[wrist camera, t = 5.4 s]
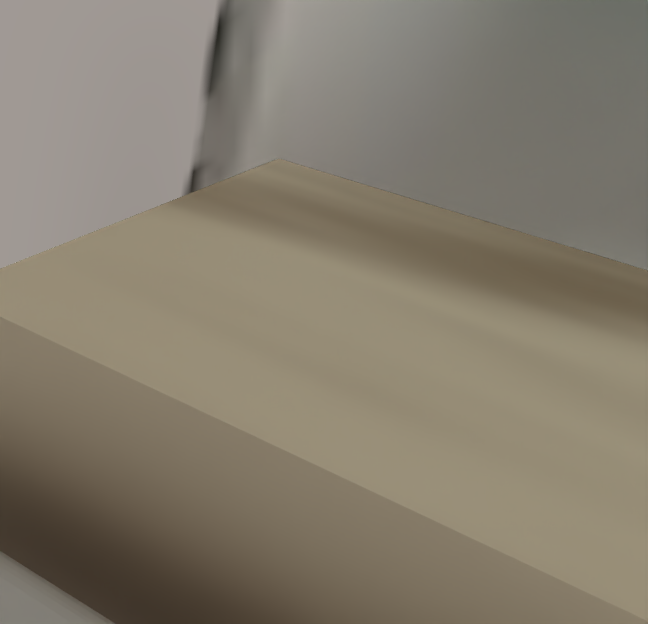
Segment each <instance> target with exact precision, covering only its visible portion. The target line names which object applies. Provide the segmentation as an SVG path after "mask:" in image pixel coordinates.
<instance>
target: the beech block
mask: <svg viewBox="0 0 648 624" xmlns="http://www.w3.org/2000/svg"><path fill="white" fill-rule="evenodd" d="M0 551H1V552H3V553H4V554H6V555H7V556H9V557H10V558H12V559H14V560H15V561H17V562H18V563H20V564H22V565H23V566H25V567H26V568H28V569H29V570H31V571H33V572H34V573H36V574H37V575H39V576H41V577H42V578H44V579H45V580H47V581H49V582H50V583H52V584H53V585H55V586H56V587H58V588H60V589H61V590H63V591H64V592H66V593H68V594H69V595H71V596H72V597H74V598H76V599H77V600H79V601H80V602H82V603H84V604H85V605H87V606H88V607H90V608H91V609H93V610H95V611H96V612H98V613H99V614H101V615H103V616H104V617H106V618H107V619H109V620H111V621H112V622H114V623H115V624H648V270H644V269H641V268H638V267H634V266H631V265H628V264H624V263H621V262H618V261H615V260H611V259H608V258H605V257H601V256H598V255H595V254H592V253H588V252H585V251H582V250H578V249H575V248H572V247H568V246H565V245H562V244H559V243H555V242H552V241H549V240H545V239H542V238H539V237H536V236H532V235H529V234H526V233H522V232H519V231H516V230H512V229H509V228H506V227H503V226H499V225H496V224H493V223H489V222H486V221H483V220H480V219H476V218H473V217H470V216H466V215H463V214H460V213H456V212H453V211H450V210H447V209H443V208H440V207H437V206H433V205H430V204H427V203H424V202H420V201H417V200H414V199H410V198H407V197H404V196H400V195H397V194H394V193H391V192H387V191H384V190H381V189H377V188H374V187H371V186H368V185H364V184H361V183H358V182H354V181H351V180H348V179H344V178H341V177H338V176H335V175H331V174H328V173H325V172H321V171H318V170H315V169H312V168H308V167H305V166H302V165H298V164H295V163H292V162H288V161H285V160H282V159H279V158H278V159H276V160H273V161H271V162H268V163H266V164H263V165H261V166H258V167H255V168H253V169H250V170H248V171H245V172H243V173H240V174H238V175H235V176H233V177H230V178H228V179H225V180H223V181H220V182H218V183H215V184H213V185H210V186H208V187H205V188H203V189H200V190H198V191H195V192H192V193H190V194H187V195H185V196H182V197H180V198H177V199H175V200H172V201H170V202H167V203H165V204H162V205H160V206H157V207H155V208H152V209H150V210H147V211H145V212H142V213H140V214H137V215H135V216H132V217H130V218H127V219H125V220H122V221H119V222H117V223H114V224H112V225H109V226H107V227H104V228H102V229H99V230H97V231H94V232H92V233H89V234H87V235H84V236H82V237H79V238H77V239H74V240H72V241H69V242H67V243H64V244H62V245H59V246H57V247H54V248H51V249H49V250H46V251H44V252H41V253H39V254H36V255H34V256H31V257H29V258H26V259H24V260H21V261H19V262H16V263H14V264H11V265H8V266H6V267H3V268H1V269H0Z"/></svg>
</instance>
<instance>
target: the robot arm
mask: <svg viewBox="0 0 648 624" xmlns="http://www.w3.org/2000/svg"><path fill="white" fill-rule="evenodd" d="M0 624H115V623H114V622H112V621H111V620H109V619H107V618H106V617H104V616H103V615H101V614H99V613H98V612H96V611H95V610H93V609H91V608H90V607H88V606H87V605H85V604H84V603H82V602H80V601H79V600H77V599H76V598H74V597H72V596H71V595H69V594H68V593H66V592H64V591H63V590H61V589H60V588H58V587H56V586H55V585H53V584H52V583H50V582H49V581H47V580H45V579H44V578H42V577H41V576H39V575H37V574H36V573H34V572H33V571H31V570H29V569H28V568H26V567H25V566H23V565H22V564H20V563H18V562H17V561H15V560H14V559H12V558H10V557H9V556H7V555H6V554H4V553H3V552H1V551H0Z"/></svg>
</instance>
